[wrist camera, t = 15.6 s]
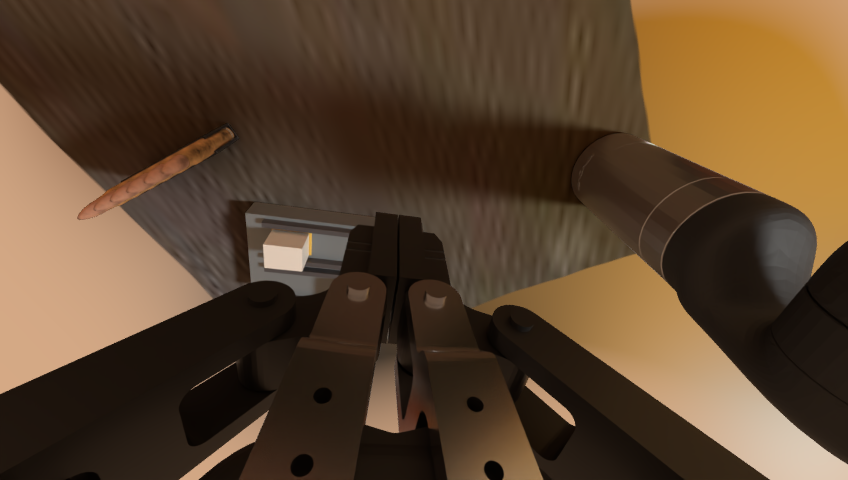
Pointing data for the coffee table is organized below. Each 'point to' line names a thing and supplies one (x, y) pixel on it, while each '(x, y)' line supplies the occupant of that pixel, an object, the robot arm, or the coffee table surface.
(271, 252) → the switch
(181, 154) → the ammunition clip
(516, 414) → the robot arm
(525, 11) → the coffee table surface
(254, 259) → the switch panel
